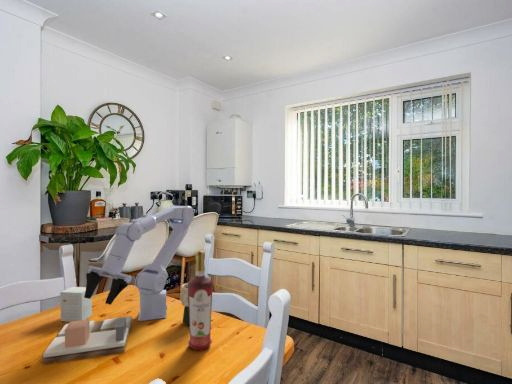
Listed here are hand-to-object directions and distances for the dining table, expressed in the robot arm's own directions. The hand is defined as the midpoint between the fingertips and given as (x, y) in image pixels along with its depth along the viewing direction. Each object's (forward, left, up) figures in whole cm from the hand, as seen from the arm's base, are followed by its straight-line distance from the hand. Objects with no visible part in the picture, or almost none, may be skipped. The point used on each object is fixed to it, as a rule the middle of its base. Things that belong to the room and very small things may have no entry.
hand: (97, 301), depth 88 cm
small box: (+11, -20, -13) cm, 26 cm away
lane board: (+2, -2, -12) cm, 13 cm away
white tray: (+2, +3, -11) cm, 12 cm away
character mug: (-28, -5, -13) cm, 31 cm away
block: (+5, +3, -10) cm, 11 cm away
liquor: (-29, +11, -13) cm, 34 cm away
